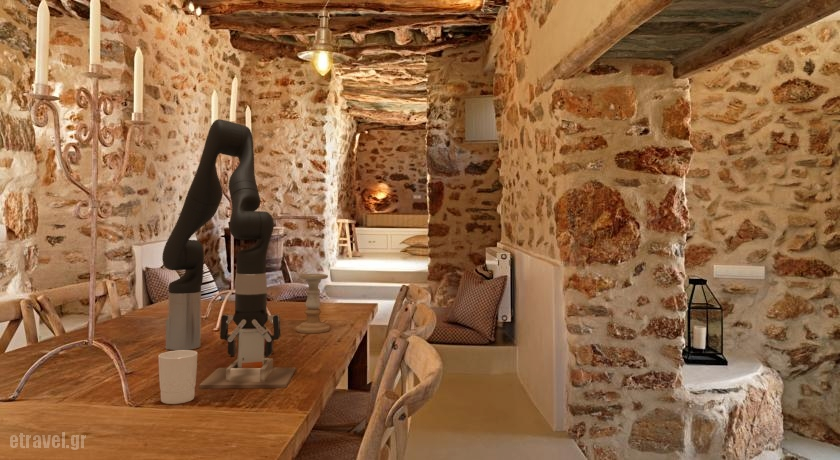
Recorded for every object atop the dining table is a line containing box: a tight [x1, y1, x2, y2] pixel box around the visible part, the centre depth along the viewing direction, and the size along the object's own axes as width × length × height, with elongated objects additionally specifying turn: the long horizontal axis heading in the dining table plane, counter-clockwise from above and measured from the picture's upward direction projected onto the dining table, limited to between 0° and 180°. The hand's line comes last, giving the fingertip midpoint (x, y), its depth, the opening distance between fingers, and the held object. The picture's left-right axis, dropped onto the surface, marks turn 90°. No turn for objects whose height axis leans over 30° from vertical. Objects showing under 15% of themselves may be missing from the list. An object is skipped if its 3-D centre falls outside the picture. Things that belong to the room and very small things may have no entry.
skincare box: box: [237, 329, 265, 368], centre depth 140 cm, size 6×4×12 cm
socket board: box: [198, 357, 297, 390], centre depth 140 cm, size 20×16×4 cm
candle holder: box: [295, 273, 331, 334], centre depth 205 cm, size 12×12×20 cm
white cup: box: [157, 349, 199, 405], centre depth 124 cm, size 8×8×10 cm
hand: (250, 356), depth 140 cm, fingers open, 8 cm apart
